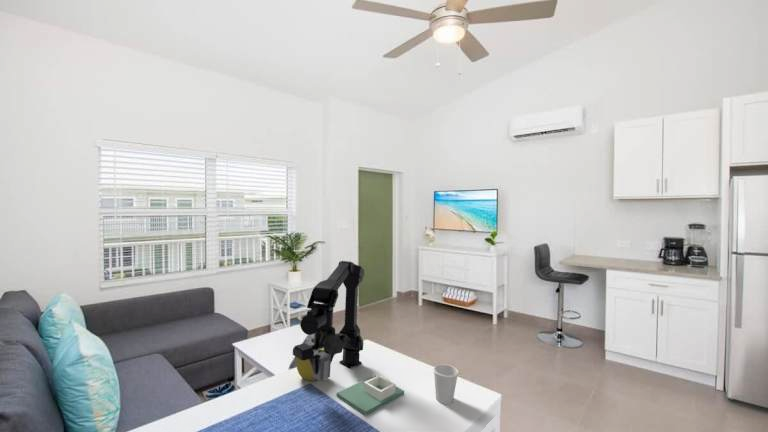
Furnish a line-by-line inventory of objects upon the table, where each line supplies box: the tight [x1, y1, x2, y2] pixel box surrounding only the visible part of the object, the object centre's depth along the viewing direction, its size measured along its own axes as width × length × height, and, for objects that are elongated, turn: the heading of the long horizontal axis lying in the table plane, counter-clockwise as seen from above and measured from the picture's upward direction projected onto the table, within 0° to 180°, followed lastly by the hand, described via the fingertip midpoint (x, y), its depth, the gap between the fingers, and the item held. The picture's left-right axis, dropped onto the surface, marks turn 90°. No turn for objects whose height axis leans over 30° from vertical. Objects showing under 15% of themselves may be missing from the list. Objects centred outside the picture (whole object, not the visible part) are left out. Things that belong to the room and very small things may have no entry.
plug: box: [312, 352, 332, 382], centre depth 111 cm, size 4×4×7 cm
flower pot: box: [295, 349, 324, 382], centre depth 126 cm, size 9×9×9 cm
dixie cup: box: [433, 363, 460, 405], centre depth 115 cm, size 8×8×10 cm
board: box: [336, 375, 405, 416], centre depth 115 cm, size 14×18×4 cm
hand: (321, 371), depth 111 cm, fingers closed on plug, 4 cm apart
